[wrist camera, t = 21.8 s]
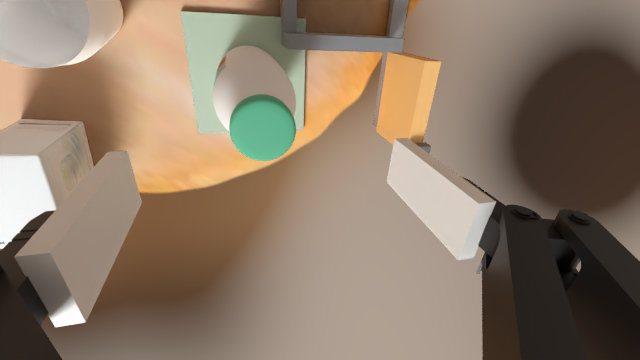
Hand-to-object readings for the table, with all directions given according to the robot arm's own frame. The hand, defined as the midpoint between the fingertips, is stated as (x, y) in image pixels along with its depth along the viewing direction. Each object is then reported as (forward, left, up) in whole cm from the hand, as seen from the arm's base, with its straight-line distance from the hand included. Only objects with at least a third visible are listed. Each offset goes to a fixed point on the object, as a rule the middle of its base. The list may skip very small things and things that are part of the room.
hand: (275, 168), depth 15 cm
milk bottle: (0, 0, -26) cm, 26 cm away
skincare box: (+10, -23, -27) cm, 37 cm away
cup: (-7, -16, -27) cm, 32 cm away
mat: (0, 0, -27) cm, 27 cm away
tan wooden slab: (+2, +19, -25) cm, 32 cm away
